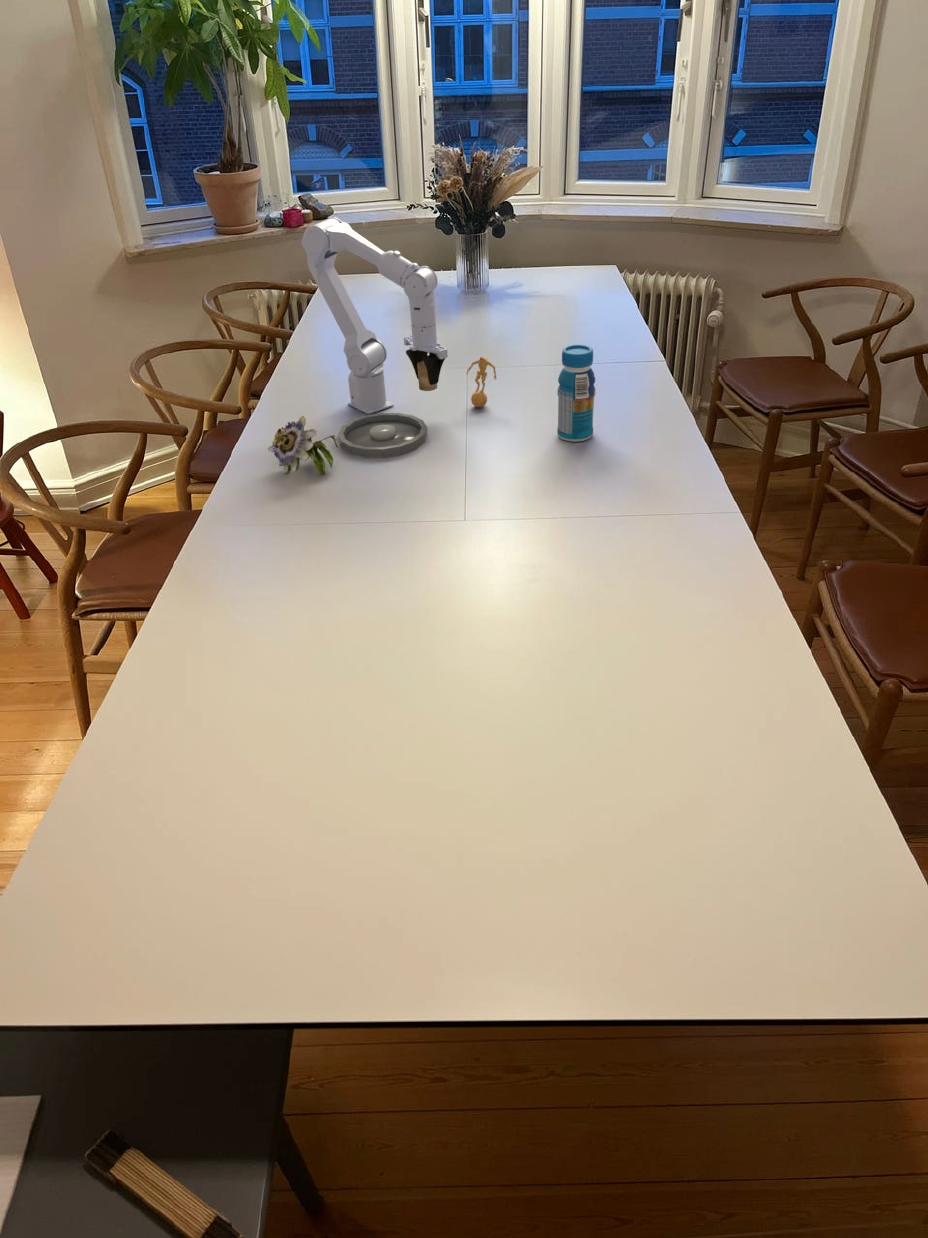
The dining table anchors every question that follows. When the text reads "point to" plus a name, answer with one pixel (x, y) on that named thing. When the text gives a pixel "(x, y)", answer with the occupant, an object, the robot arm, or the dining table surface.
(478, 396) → the figurine
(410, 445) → the round tray
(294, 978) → the dining table surface
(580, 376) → the beverage bottle
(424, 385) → the oak bead
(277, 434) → the passion flower
